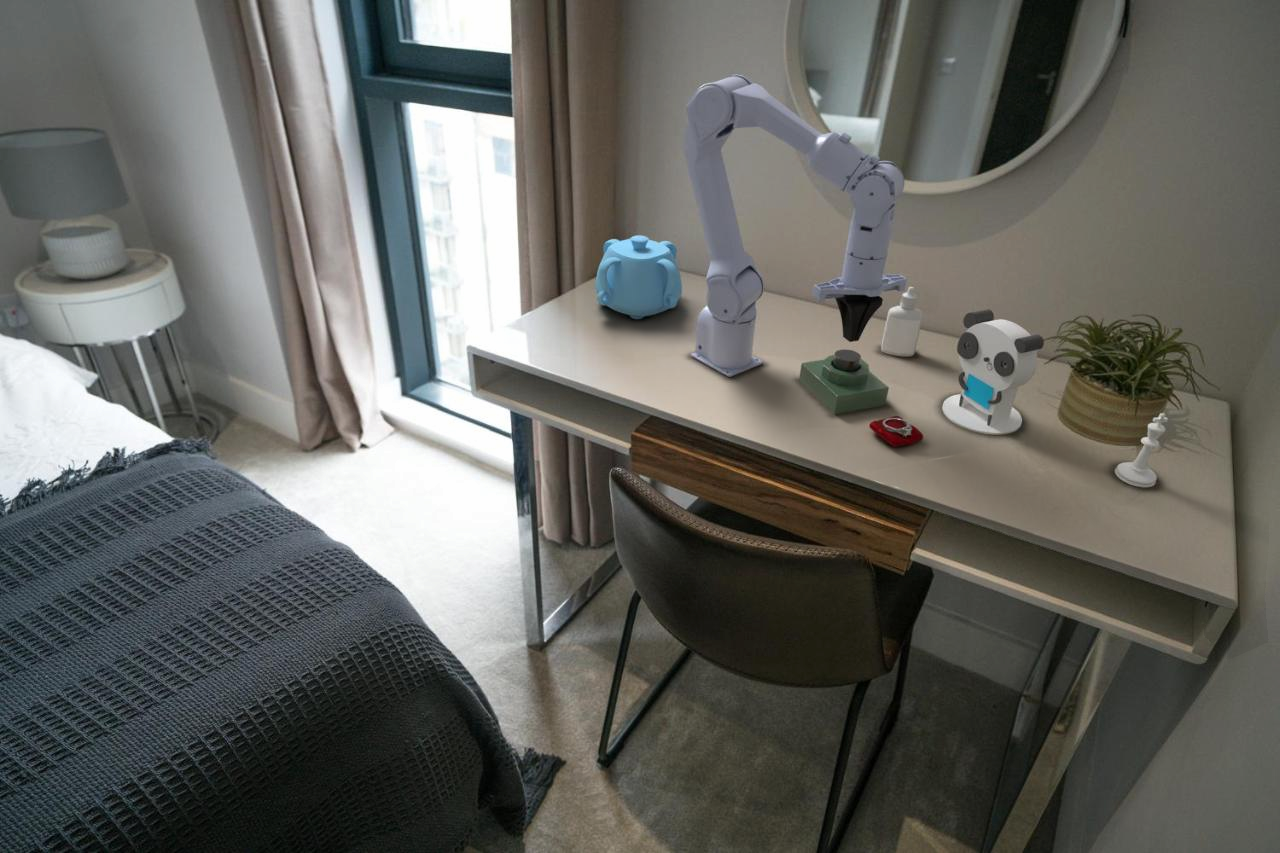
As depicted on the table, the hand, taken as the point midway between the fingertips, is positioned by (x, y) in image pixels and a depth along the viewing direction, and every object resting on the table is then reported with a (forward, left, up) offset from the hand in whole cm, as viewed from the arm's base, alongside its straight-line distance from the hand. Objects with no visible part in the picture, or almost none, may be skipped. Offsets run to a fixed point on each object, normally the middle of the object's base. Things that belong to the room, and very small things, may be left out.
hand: (850, 338), depth 119 cm
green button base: (0, 0, -10) cm, 10 cm away
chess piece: (+39, +14, -10) cm, 43 cm away
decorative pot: (-45, -5, -10) cm, 46 cm away
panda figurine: (+17, +12, -10) cm, 23 cm away
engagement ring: (+13, -4, -10) cm, 17 cm away
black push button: (0, 0, -5) cm, 5 cm away
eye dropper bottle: (-3, +19, -10) cm, 22 cm away
